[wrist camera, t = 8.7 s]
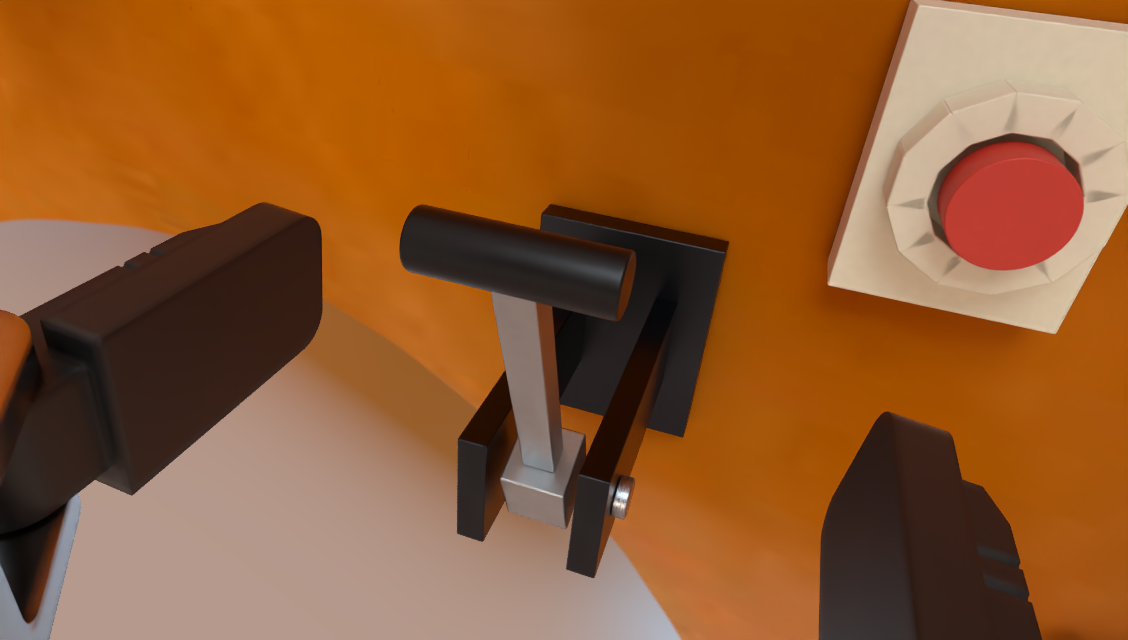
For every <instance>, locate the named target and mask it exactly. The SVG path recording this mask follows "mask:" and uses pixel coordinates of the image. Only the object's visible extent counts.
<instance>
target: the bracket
mask: <svg viewBox="0 0 1128 640" xmlns="http://www.w3.org/2000/svg"><path fill="white" fill-rule="evenodd" d="M540 230H542V231H547V232H551V233H556V234H561V235H565V236H570V237H574V238H579V239H583V240H588V241H593V242H597V243H602V244H606V245H611V246H615V247H620V248H625V249H629V250H633V251H634V252H635V253H636V269H635V275H634V281H633V285H632V290H631V293H630V297H629V301H628V304H627V307H626V309H625V312H624V314H623V316H622V318H621V319H620V320H619V321H617V322H615V321H610V320H606V319H602V318H598V317H594V316H590V315H586V314H582V313H577V312H573V311H569V310H565V309H561V308H557V307H553V306H552V314H553V326H554V338H555V351H556V363H557V376H558V388H559V401H560V404H562V405H566V406H569V407H573V408H577V409H580V410H584V411H588V412H591V413H595V414H599V415H602V416H604V418H603V420H602V422H601V424H600V427H599V429H598V431H597V434H596V436H595V438H594V440H593V443H592V445H591V447H590V450H589V452H588V454H587V456H586V459H585V461H584V463H583V466H582V468H581V470H580V472H579V475H578V483H577V490H576V498H575V505H574V513H573V521H572V528H571V535H570V543H569V551H568V558H567V566H566V569H567V570H570V571H573V572H576V573H579V574H582V575H585V576H588V577H591V578H594V577H595V575H596V572H597V569H598V566H599V563H600V560H601V558H602V555H603V552H604V549H605V546H606V543H607V540H608V537H609V535H610V532H611V529H612V526H613V523H614V520H615V517H617V518H620V519H625V518H626V516H627V513H628V510H629V506H630V503H631V499H632V495H633V491H634V486H635V479H634V478H632V477H630V474H631V471H632V468H633V465H634V463H635V460H636V457H637V454H638V451H639V448H640V445H641V442H642V440H643V437H644V434H645V431H646V428H650V429H653V430H657V431H661V432H664V433H668V434H672V435H675V436H679V437H683V436H684V433H685V429H686V426H687V422H688V417H689V413H690V409H691V404H692V400H693V396H694V392H695V387H696V383H697V379H698V374H699V370H700V366H701V361H702V357H703V353H704V348H705V344H706V340H707V336H708V331H709V327H710V323H711V318H712V314H713V310H714V305H715V301H716V297H717V293H718V288H719V284H720V280H721V275H722V271H723V267H724V262H725V258H726V254H727V249H728V245H729V242H728V241H724V240H719V239H714V238H709V237H704V236H700V235H695V234H690V233H685V232H681V231H676V230H671V229H666V228H662V227H657V226H652V225H647V224H642V223H638V222H633V221H628V220H623V219H619V218H614V217H609V216H604V215H600V214H595V213H590V212H585V211H580V210H576V209H571V208H566V207H561V206H557V205H552V204H550V205H549V206H548V207H547V208H546V209H545V211H544V212H543V213H542V214H541V228H540ZM517 435H518V434H517V429H516V423H515V418H514V413H513V407H512V402H511V397H510V391H509V386H508V380H507V375H506V370H505V371H504V373H503V374H502V376H501V377H500V379H499V380H498V382H497V383H496V384H495V386H494V387H493V389H492V390H491V392H490V393H489V395H488V396H487V398H486V399H485V400H484V402H483V403H482V405H481V406H480V408H479V409H478V411H477V412H476V413H475V415H474V416H473V418H472V419H471V421H470V422H469V424H468V425H467V427H466V428H465V430H464V431H463V432H462V434H461V435H460V437H459V438H458V486H457V487H458V488H457V491H458V492H457V533H458V534H460V535H463V536H466V537H469V538H472V539H475V540H478V541H481V542H482V541H484V539H485V537H486V535H487V533H488V531H489V530H490V528H491V526H492V524H493V522H494V520H495V519H496V517H497V515H498V513H499V511H500V509H501V507H502V505H503V504H504V502H505V497H504V493H503V489H502V485H501V482H500V477H501V474H502V472H503V469H504V467H505V464H506V462H507V460H508V457H509V455H510V452H511V450H512V447H513V445H514V443H515V440H516V438H517Z"/></svg>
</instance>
